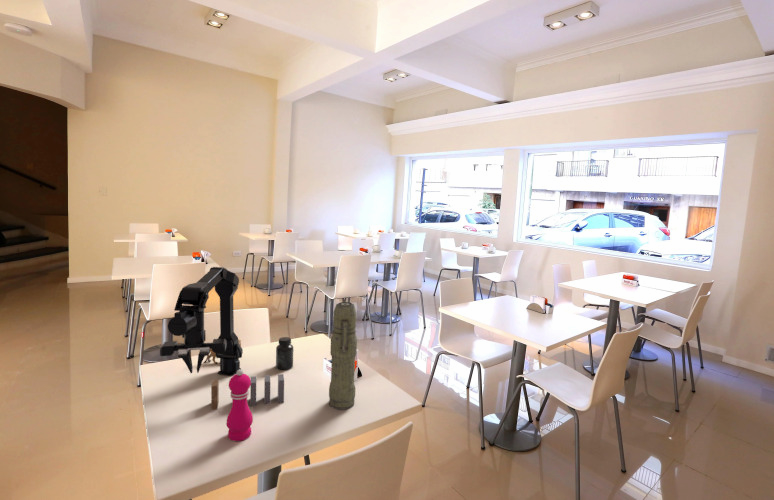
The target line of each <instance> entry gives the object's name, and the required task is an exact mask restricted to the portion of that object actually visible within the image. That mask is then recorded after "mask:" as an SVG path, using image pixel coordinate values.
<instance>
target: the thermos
mask: <svg viewBox="0 0 774 500" xmlns="http://www.w3.org/2000/svg"><path fill="white" fill-rule="evenodd" d="M332 315H333V318H332V321H333V322H332V326H333V329H332V335H331V337H330V353H329V354H330V356H331V369H330V372H331V373H330V382H329V387H328V398H329V399H328V400H329V402H328V404H329V406H330V407H331V408H333V409H336V410H347V409H351V408H352V407H354V406H355V397H356V385H355V370H356V365H355V364H356V355H357V353H358V351H357V350H358V338H357V335H356V332H357V331H356V326H357V310H356V307H355V304H354V303H352V302H348V301H341V302H338V303H336V305H335V306H334V309H333V314H332Z"/></svg>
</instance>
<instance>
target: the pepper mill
mask: <svg viewBox="0 0 774 500" xmlns="http://www.w3.org/2000/svg"><path fill="white" fill-rule="evenodd" d="M250 388H251V377H249V375H248V374H245V373H244V371H243V369H242V368H241V369H239V370H238V371H237V373H235V374H234V375H232V376H231V377H230V378H229V382H228V389H229V390H230V398H231V399H232V400H231V401H232V405H231V409H230V410H229V413H228V415H227V418H226V423H225V424H226V428H227V429H228V432H227V435H228V439H229V440H230V441H233V442H242V441H245V440H247V439H249V438H250V436H251V435H252V427H251V426H252V424H253V421H254V417H253V416H254V415H253V414H252V411H251V410H250V407H249V404H248V397H249V395H250Z"/></svg>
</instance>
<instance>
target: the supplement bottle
mask: <svg viewBox="0 0 774 500" xmlns="http://www.w3.org/2000/svg"><path fill="white" fill-rule="evenodd" d="M275 349H276V350H275V368H276V369H277V370H279V371H280V370H281V371H288V370H291V369H292V368H293V367H294V346H293V344H292V339H291V337H290V336H289V337H288V336H285V337H279V338H278V345H276V348H275Z"/></svg>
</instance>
